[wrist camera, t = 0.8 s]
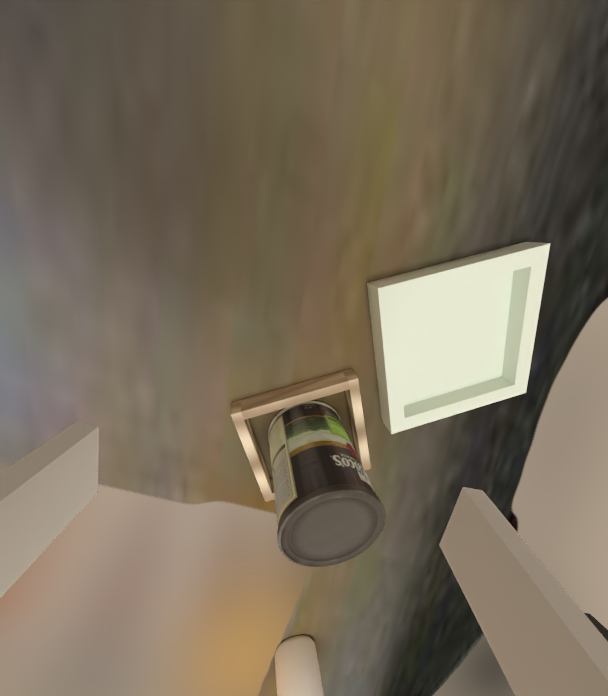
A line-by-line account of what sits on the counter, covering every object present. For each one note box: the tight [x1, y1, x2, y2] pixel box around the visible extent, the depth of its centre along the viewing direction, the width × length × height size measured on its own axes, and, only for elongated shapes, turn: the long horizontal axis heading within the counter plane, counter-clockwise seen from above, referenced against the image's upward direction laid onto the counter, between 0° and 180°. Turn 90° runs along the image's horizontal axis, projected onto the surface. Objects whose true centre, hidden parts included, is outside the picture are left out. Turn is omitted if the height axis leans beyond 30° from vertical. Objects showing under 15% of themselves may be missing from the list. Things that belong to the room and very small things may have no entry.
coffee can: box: [268, 400, 386, 567], centre depth 33 cm, size 10×10×14 cm
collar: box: [231, 369, 371, 502], centre depth 38 cm, size 15×15×2 cm
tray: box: [367, 242, 550, 434], centre depth 36 cm, size 20×20×3 cm
